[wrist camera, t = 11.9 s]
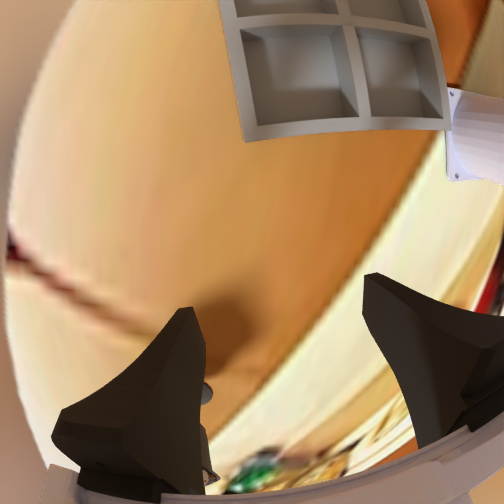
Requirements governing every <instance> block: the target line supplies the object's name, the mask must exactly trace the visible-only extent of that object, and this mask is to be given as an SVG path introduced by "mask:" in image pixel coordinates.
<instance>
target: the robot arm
mask: <svg viewBox="0 0 504 504" xmlns="http://www.w3.org/2000/svg"><path fill="white" fill-rule="evenodd" d="M447 89H448V96H449V104H450V113H451V124H452V131H447V130H445V131H446V150H447V178H448V180H449V181H452V182H454V181H467V180H482V179H486V180H489V181H492V182H494V183H497V184H499V185H502V186H504V98H502V97H491V96H487V95H483V94H479V93H474V92H470V91H465V90H461V89H455V88H450V87H447ZM450 92H451V95H450ZM455 174H456V177H455ZM362 315H363V317H364V319H365V322H366V324H367V327H368V329H369V331H370V333H371V335H372V336H373V338H374V340H375V342H376V343H377V345H378V347H379V348H380V350H381V352H382V353H383V355H384V357H385V358H386V360H387V362H388V363H389V365H390V367H391V368H392V370H393V372H394V374H395V376H396V379H397V381H398V383H399V386H400V388H401V391H402V393H403V396H404V399H405V402H406V404H407V407H408V410H409V413H410V417H411V420H412V424H413V427H414V431H415V435H416V439H417V444H418V449H419V450H417V451H415V452H412V453H410V454H408V455H405V456H403V457H401V458H398V459H396V460H393V461H390V462H388V463H385V464H382V465H380V466H377V467H374V468H371V469H368V470H365V471H362V472H359V473H355V474H352V475H348V476H345V477H341V478H337V479H334V480H329V481H325V482H321V483H316V484H312V485H307V486H302V487H296V488H290V489H284V490H277V491H269V492H260V493H249V494H234V495H206V494H205V486H204V479H203V470H202V458H201V441H200V407H201V398H202V390H203V382H204V374H205V365H206V348H205V341H204V338H203V335H202V332H201V329H200V326H199V324H198V321H197V318H196V315H195V312H194V309H193V307H186V308H179V309H178V310H177V311H176V312H175V314H174V315H173V316H172V318H171V319H170V320H169V321H168V323H167V324H166V325H165V327H164V328H163V329H162V330H161V332H160V333H159V334H158V335H157V337H156V338H155V339H154V340H153V341H152V342H151V344H150V345H149V346H148V347H147V348H146V349H145V350H144V351H143V353H142V354H141V355H140V356H139V357H138V358H137V359H136V360H135V361H134V362H133V363H132V364H131V365H130V366H129V367H127V368H126V369H125V370H124V371H123V372H122V373H121V374H119V375H118V376H117V377H115V378H114V379H113V380H112V381H110V382H109V383H108V384H106V385H105V386H104V387H102V388H101V389H99V390H98V391H96V392H94V393H93V394H91V395H90V396H88V397H86V398H84V399H83V400H81V401H79V402H77V403H75V404H73V405H71V406H69V407H67V408H64V409H62V410H61V413H60V415H59V417H58V420H57V422H56V425H55V427H54V430H53V433H52V435H51V439H52V441H53V443H54V444H55V446H56V447H57V448H58V449H59V450H60V451H61V452H62V453H64V454H65V455H66V456H67V457H68V458H70V459H71V460H72V461H73V462H75V463H76V464H77V465H79V466H80V467H81V469H80V473H77V472H75V471H73V470H70V469H67V468H64V467H60V466H57V465H54V464H50V466H49V469H48V472H47V476H46V479H45V482H44V486H43V490H42V493H41V497H40V501H39V504H473V503H472V500H471V498H470V495H469V493H468V492H469V491H471V490H472V489H474V488H475V487H477V486H478V485H480V484H481V483H482V482H484V481H485V480H487V479H488V478H489V477H491V476H492V475H493V474H495V473H496V472H497V471H499V470H500V469H501V468H502V467H504V316H495V315H488V314H482V313H476V312H472V311H468V310H464V309H460V308H457V307H454V306H451V305H448V304H445V303H442V302H439V301H437V300H434V299H432V298H430V297H427V296H425V295H423V294H421V293H419V292H416V291H414V290H412V289H410V288H408V287H406V286H404V285H402V284H400V283H398V282H396V281H394V280H393V279H391V278H388V277H386V276H384V275H382V274H380V273H377V272H376V273H372V274H367V275H364V292H363V309H362Z"/></svg>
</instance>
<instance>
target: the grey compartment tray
mask: <svg viewBox="0 0 504 504" xmlns="http://www.w3.org/2000/svg"><path fill="white" fill-rule="evenodd" d="M218 5H219V10H220V16H221V21H222V26H223V32H224V37H225V42H226V48H227V53H228V58H229V64H230V69H231V75H232V80H233V86H234V91H235V97H236V103H237V108H238V114H239V119H240V125H241V131H242V136H243V141H244V142H245V143H247V142H253V141H260V140H266V139H273V138H281V137H289V136H297V135H306V134H316V133H328V132H341V131H357V130H385V129H420V130H447V131H452V124H451V113H450V104H449V96H448V89H447V83H446V77H445V71H444V66H443V61H442V56H441V52H440V48H439V43H438V39H437V36H436V32H435V28H434V25H433V21H432V18H431V15H430V12H429V9H428V6H427V3H426V0H218Z"/></svg>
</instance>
